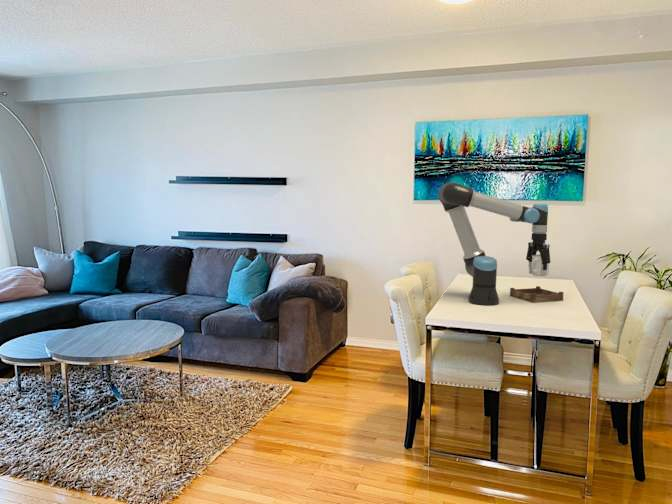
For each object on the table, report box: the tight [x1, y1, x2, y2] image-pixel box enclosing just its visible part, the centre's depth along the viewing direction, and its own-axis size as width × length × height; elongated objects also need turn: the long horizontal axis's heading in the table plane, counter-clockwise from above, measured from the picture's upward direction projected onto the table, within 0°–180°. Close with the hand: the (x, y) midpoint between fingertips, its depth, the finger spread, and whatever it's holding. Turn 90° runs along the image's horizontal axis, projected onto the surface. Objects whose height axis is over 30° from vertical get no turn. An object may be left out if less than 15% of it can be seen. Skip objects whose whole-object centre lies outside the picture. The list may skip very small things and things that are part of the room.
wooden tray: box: [509, 285, 564, 304], centre depth 280 cm, size 19×19×4 cm
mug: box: [531, 253, 550, 277], centre depth 278 cm, size 9×12×11 cm
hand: (537, 274), depth 279 cm, fingers closed on mug, 8 cm apart
